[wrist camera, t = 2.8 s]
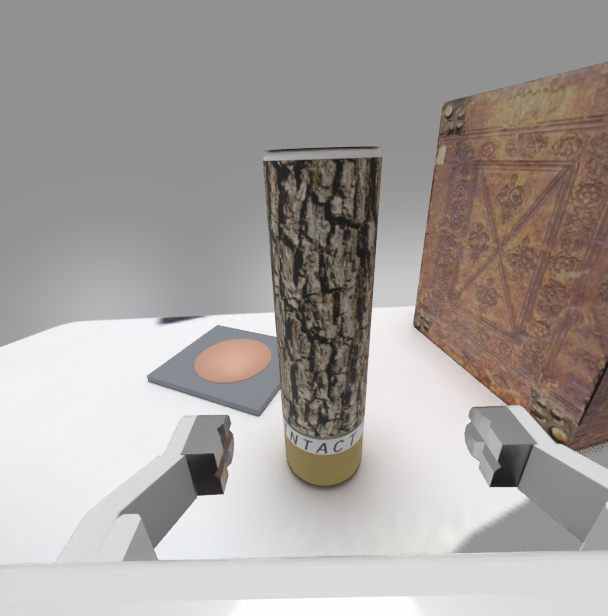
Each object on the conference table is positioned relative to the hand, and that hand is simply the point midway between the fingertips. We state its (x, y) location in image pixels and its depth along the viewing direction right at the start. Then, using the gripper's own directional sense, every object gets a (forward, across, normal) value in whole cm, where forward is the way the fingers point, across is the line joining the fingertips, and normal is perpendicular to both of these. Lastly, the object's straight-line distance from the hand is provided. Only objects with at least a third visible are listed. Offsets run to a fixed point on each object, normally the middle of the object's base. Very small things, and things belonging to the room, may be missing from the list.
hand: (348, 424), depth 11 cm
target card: (+27, +12, +16) cm, 33 cm away
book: (+25, -23, +17) cm, 38 cm away
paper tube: (+12, 0, +16) cm, 21 cm away
